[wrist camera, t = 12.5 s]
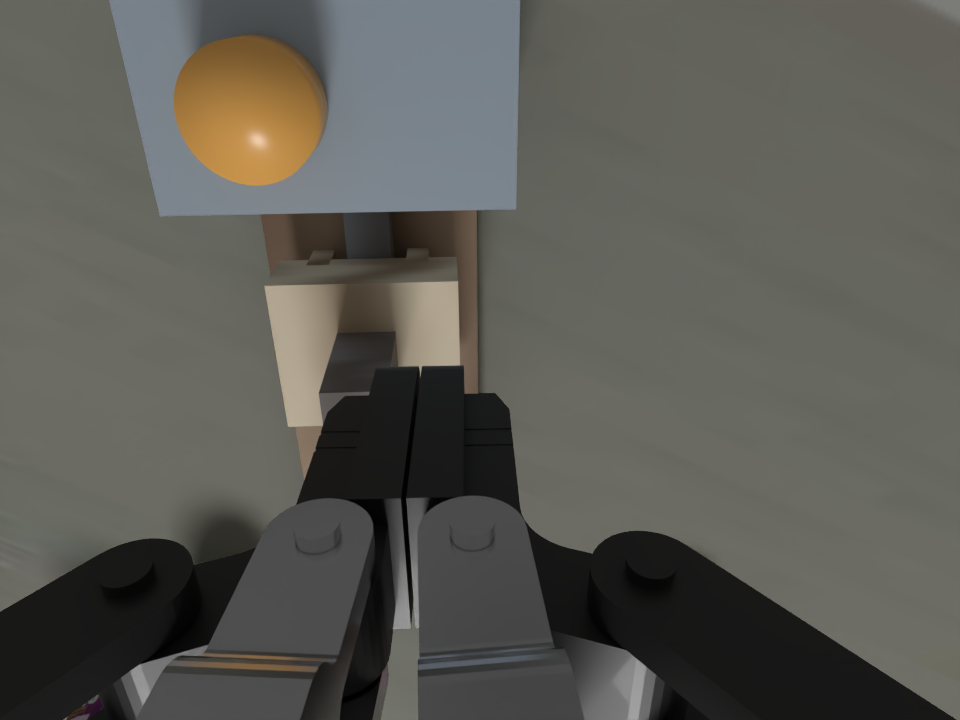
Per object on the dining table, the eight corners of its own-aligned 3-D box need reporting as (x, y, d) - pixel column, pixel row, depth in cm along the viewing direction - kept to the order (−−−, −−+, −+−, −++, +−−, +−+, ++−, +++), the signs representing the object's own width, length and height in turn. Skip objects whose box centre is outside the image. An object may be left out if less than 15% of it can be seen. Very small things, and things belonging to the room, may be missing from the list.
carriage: (456, 247, 32) (460, 334, 24) (459, 375, 36) (464, 490, 27) (285, 250, 32) (231, 340, 24) (304, 380, 35) (263, 497, 27)
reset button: (319, 33, 20) (308, 37, 19) (334, 169, 22) (325, 184, 20) (183, 34, 20) (159, 38, 18) (210, 171, 22) (189, 186, 20)
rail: (474, 160, 32) (477, 175, 30) (478, 523, 43) (480, 558, 40) (261, 164, 32) (245, 179, 29) (318, 529, 43) (310, 564, 40)
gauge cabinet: (497, -21, 29) (520, -26, 20) (496, 149, 32) (515, 209, 23) (194, -19, 28) (82, -23, 20) (225, 153, 32) (142, 216, 23)
